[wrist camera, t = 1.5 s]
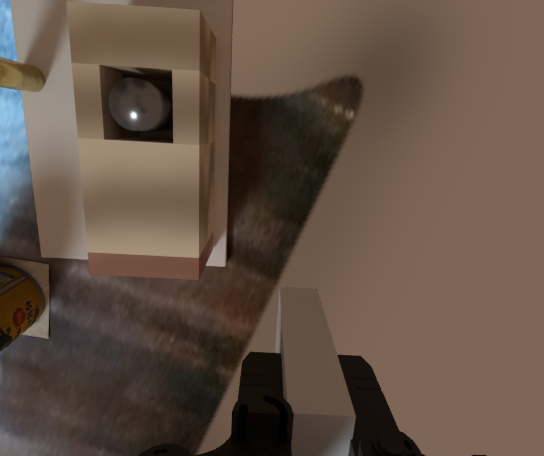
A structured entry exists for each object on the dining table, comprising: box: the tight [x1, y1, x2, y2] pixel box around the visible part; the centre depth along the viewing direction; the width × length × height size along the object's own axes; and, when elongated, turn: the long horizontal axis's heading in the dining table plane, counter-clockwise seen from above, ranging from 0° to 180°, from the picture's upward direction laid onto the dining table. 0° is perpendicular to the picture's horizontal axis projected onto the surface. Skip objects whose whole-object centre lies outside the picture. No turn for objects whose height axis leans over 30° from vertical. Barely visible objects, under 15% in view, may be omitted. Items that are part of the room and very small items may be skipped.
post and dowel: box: [0, 57, 173, 131], centre depth 23 cm, size 4×12×8 cm, turn 87°
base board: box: [10, 0, 233, 267], centre depth 27 cm, size 22×15×1 cm
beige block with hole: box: [66, 1, 216, 280], centre depth 24 cm, size 16×7×6 cm, turn 177°
